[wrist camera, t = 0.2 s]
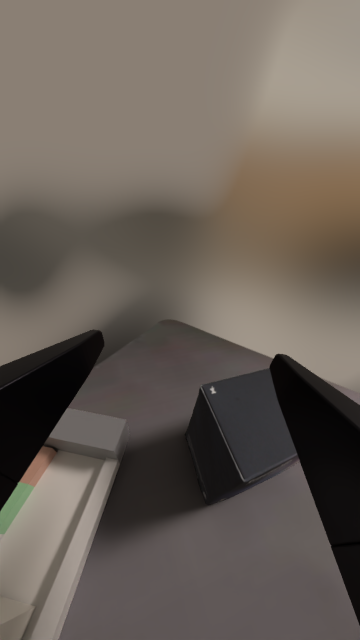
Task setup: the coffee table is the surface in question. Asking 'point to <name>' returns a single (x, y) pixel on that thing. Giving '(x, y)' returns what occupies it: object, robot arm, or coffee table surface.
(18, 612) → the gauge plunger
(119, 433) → the base
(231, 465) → the small box
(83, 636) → the coffee table surface
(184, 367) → the coffee table surface
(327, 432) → the robot arm
